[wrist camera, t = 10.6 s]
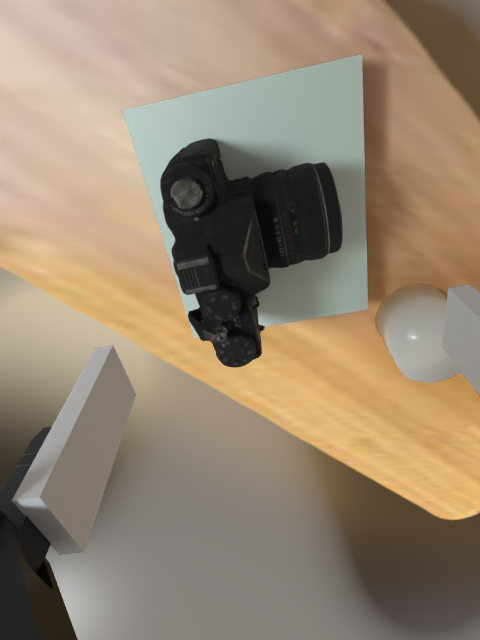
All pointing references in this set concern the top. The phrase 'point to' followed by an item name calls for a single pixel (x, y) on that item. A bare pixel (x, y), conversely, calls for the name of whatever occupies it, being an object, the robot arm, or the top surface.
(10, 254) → the top surface
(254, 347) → the camera
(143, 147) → the stand
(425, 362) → the grey rounded block
